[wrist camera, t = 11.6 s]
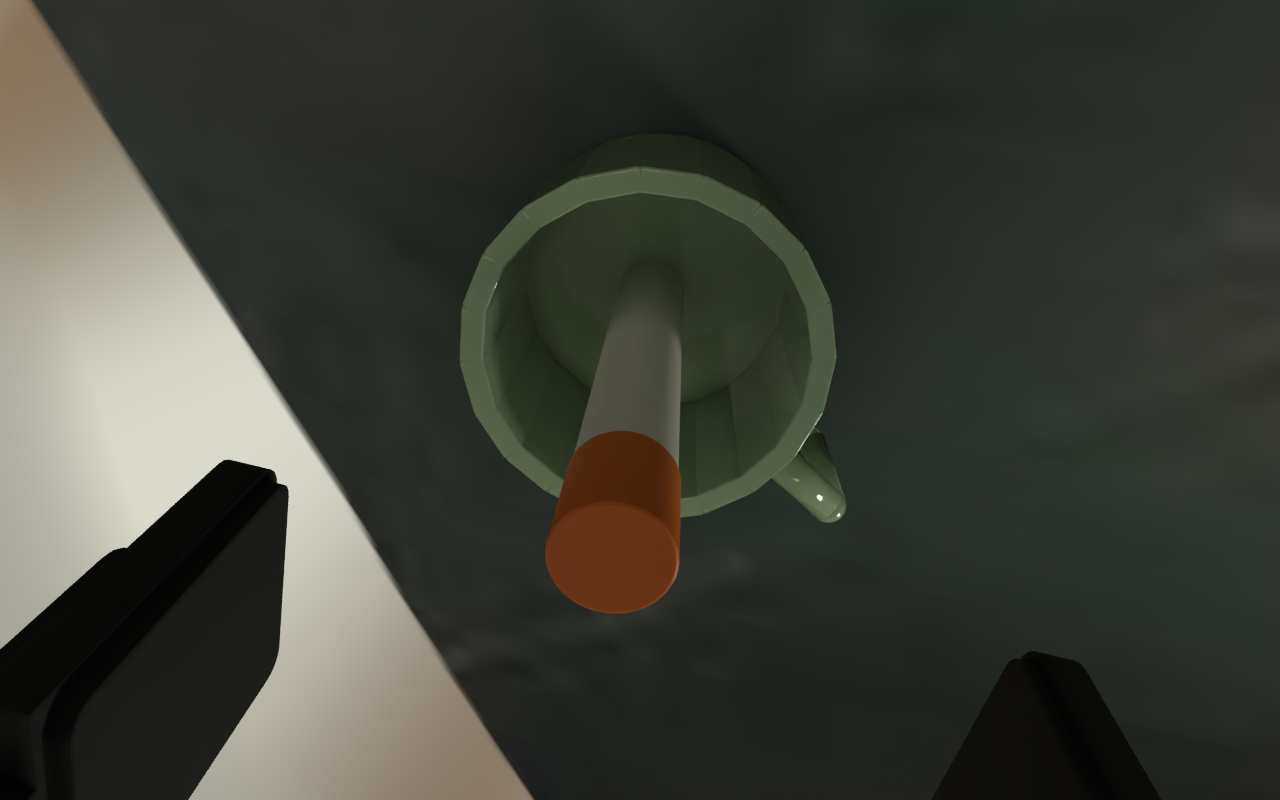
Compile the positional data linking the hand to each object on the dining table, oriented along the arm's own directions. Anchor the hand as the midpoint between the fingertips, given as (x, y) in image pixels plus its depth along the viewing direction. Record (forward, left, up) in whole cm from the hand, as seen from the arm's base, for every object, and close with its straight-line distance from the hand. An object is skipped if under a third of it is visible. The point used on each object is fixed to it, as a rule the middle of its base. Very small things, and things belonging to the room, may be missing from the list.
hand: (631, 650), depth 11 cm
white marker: (0, 0, -17) cm, 17 cm away
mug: (+1, +1, -18) cm, 18 cm away
